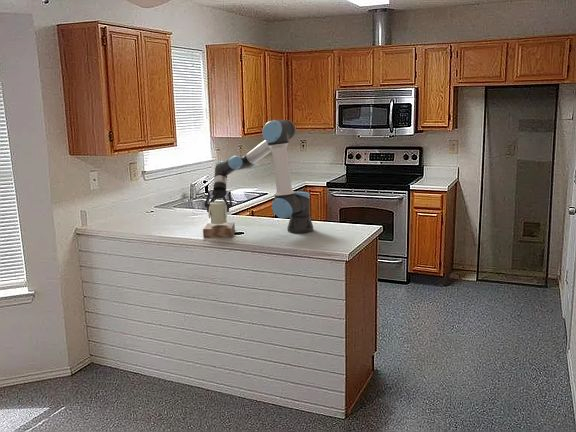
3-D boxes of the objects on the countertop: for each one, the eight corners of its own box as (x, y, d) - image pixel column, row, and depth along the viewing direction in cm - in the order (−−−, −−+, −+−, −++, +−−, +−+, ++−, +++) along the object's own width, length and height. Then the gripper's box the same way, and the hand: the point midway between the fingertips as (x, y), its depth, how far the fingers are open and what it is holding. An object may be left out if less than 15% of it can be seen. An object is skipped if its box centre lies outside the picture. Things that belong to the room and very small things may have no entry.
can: (219, 220, 331) (217, 199, 329) (230, 221, 325) (229, 201, 323) (207, 222, 324) (206, 202, 322) (218, 224, 318) (217, 203, 316)
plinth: (234, 230, 334) (234, 222, 333) (231, 237, 318) (231, 228, 317) (208, 231, 334) (207, 223, 333) (203, 237, 318) (202, 229, 317)
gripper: (238, 188, 336) (237, 219, 324) (203, 189, 337) (199, 220, 324) (237, 180, 330) (235, 212, 317) (201, 181, 330) (197, 213, 318)
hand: (217, 216), depth 321 cm, fingers closed on can, 9 cm apart
